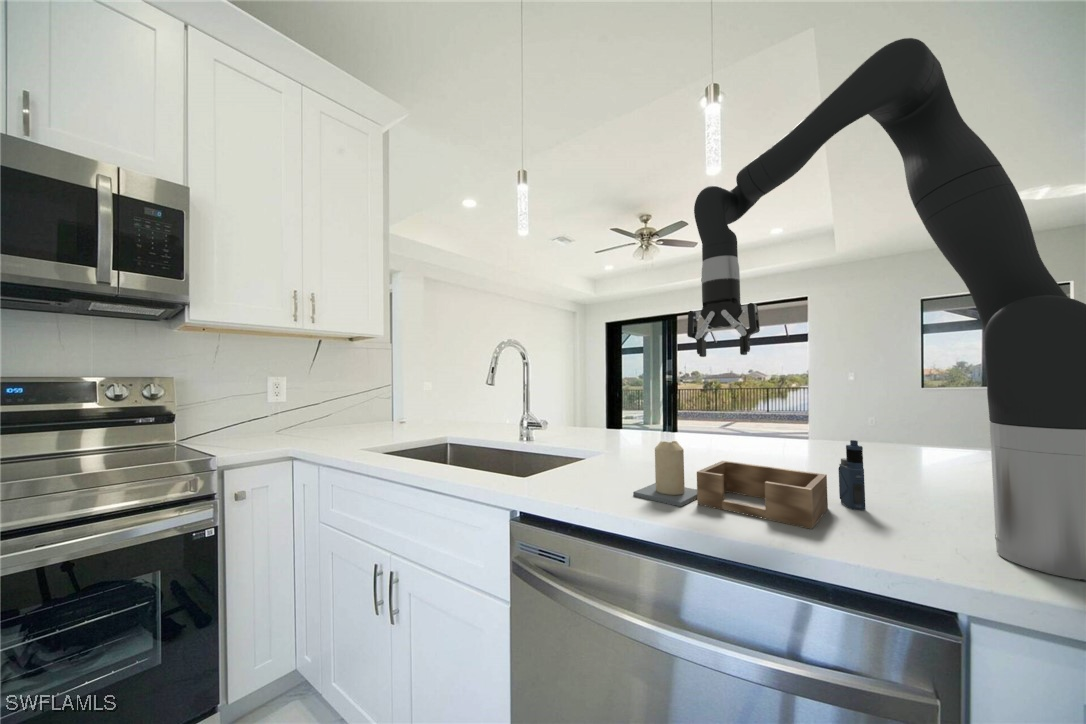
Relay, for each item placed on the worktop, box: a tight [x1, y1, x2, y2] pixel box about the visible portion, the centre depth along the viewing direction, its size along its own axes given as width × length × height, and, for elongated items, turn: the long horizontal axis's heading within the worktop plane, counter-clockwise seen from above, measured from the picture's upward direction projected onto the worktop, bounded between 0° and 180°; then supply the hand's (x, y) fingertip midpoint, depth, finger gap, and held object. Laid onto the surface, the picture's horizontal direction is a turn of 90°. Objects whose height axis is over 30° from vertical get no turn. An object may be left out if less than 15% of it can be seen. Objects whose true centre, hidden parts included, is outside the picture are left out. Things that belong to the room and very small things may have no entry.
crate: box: [696, 460, 829, 530], centre depth 73 cm, size 18×13×6 cm
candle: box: [654, 440, 686, 495], centre depth 80 cm, size 6×6×10 cm
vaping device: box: [838, 439, 867, 511], centre depth 72 cm, size 3×5×12 cm, turn 166°
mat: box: [632, 482, 697, 507], centre depth 80 cm, size 10×10×1 cm
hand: (722, 355), depth 86 cm, fingers open, 8 cm apart
